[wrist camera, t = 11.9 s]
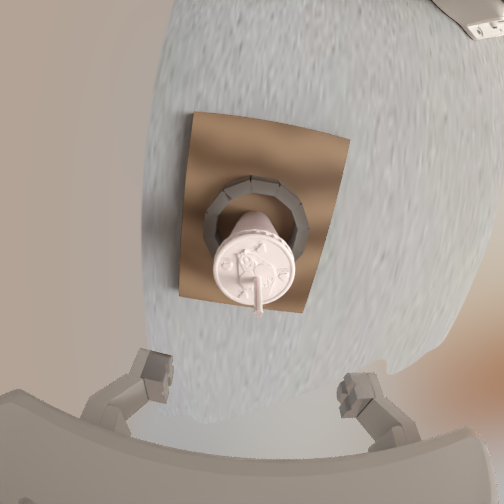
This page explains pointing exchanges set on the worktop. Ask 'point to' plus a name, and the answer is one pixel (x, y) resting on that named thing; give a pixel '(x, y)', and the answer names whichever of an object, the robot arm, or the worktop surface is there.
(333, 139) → the stand
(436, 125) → the worktop surface
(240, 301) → the smoothie
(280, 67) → the worktop surface
